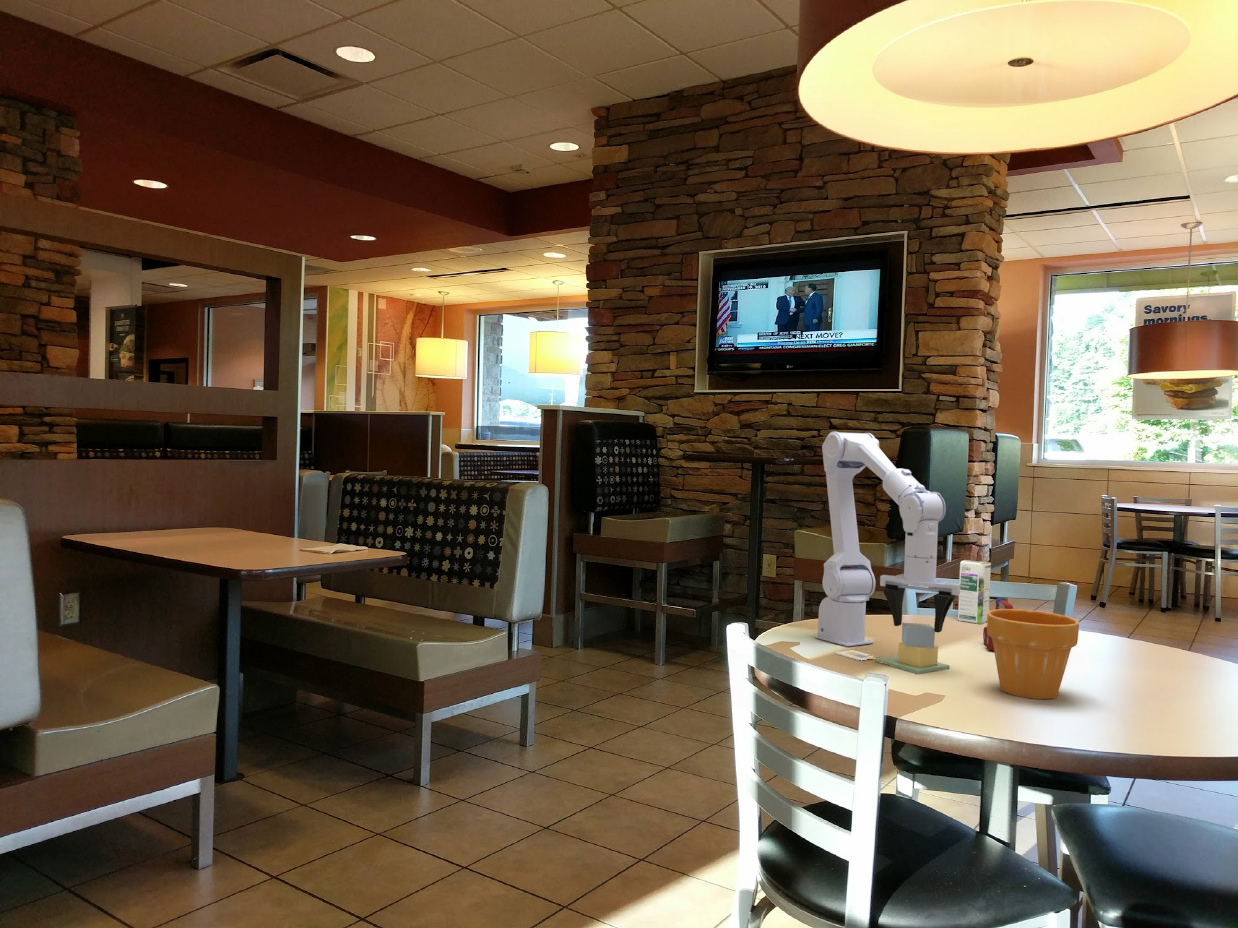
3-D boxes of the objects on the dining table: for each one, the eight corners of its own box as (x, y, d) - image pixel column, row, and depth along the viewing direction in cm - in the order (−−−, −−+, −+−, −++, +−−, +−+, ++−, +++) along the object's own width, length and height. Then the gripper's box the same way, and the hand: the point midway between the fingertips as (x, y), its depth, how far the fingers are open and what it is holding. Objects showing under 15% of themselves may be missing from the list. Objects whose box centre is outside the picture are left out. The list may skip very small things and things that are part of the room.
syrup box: (956, 620, 216) (959, 561, 215) (965, 617, 220) (967, 559, 220) (981, 624, 212) (983, 563, 212) (989, 621, 217) (991, 561, 216)
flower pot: (1062, 685, 158) (1065, 611, 158) (1087, 707, 144) (1090, 627, 144) (977, 678, 161) (980, 606, 160) (993, 699, 147) (996, 621, 147)
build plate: (875, 661, 171) (875, 658, 171) (906, 656, 176) (906, 653, 176) (918, 673, 163) (918, 670, 162) (949, 668, 167) (949, 665, 167)
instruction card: (834, 653, 177) (834, 651, 177) (852, 650, 180) (852, 649, 180) (861, 661, 171) (861, 659, 171) (879, 658, 174) (879, 657, 174)
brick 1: (901, 640, 171) (902, 622, 171) (928, 642, 171) (929, 624, 170) (906, 646, 166) (906, 627, 166) (934, 648, 166) (934, 629, 166)
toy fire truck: (1015, 644, 192) (1017, 595, 191) (1026, 656, 180) (1028, 605, 179) (980, 641, 193) (982, 593, 193) (989, 653, 181) (991, 602, 181)
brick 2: (898, 661, 169) (898, 642, 169) (915, 658, 172) (916, 640, 172) (919, 667, 165) (920, 648, 165) (937, 664, 168) (938, 645, 168)
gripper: (966, 558, 167) (963, 631, 167) (890, 550, 175) (888, 619, 176) (954, 561, 161) (951, 636, 161) (877, 553, 170) (874, 624, 170)
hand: (917, 628), depth 168 cm, fingers open, 7 cm apart
